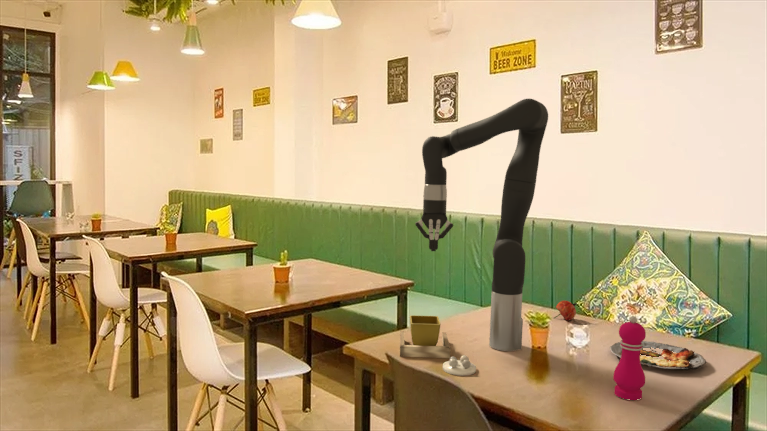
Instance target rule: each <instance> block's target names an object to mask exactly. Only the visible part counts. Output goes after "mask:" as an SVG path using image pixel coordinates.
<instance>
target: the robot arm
mask: <svg viewBox="0 0 767 431" xmlns="http://www.w3.org/2000/svg"><path fill="white" fill-rule="evenodd" d="M548 122H549V112H548V109H547V107H546V106H545V105H544V104H543V103H542V102H539V101H538V100H536V99H534V98H524V99H521V100H520V101H518V102H516V103H514V104H512V105H510V106H509V107H506V108H505V109H503V110H501V111H499V112H496V113H495V114H493V115H491V116H489V117H486V118H484V119H481V120H478V121H475V122H472V123H470V124H467V125H464V126H461V127H459V128H456V129H454V130H452V131H451V133H449V134H446V135H443V136H433V135H432V136H428V137H427V138H426V139H425V140H424V141H423V144H422V149H421V154H422V155H421V156H422V161H423V166H424V171H425V174H424V189H423V203H422V204H423V206H422V215H421V216H420V217H421V219H419V220H418V221H415V227H416V228H417V229H418V231H420V233H421V234H422V236H423V237H424V238H425V239H428V249H429V250H430V252H436V250H438V248H439V240H440V239H444V238H445V236H446V235H447V234H448V233H449V232H450V231H451V230H452V228H454V224H453V223H452V222H450V221H449V220H448V216H447V198H448V188H447V178H448V177H447V176H448V175H447V168H445V166H443V159H446V158H448V157H450V156H453V155H455V154H457V153H458V152H462V151H465V150H468V149H470V148H474V147H477V146H481V144H484V143H485V142H488V141H489V140H491V139H493V138H494V137H496V136H499V135H502V134H505V133H508V132H509V133H510V132H513V131H518V137H517V141H516V142H517V144H516V148H515V150H514V153H513V155H512V157H511V159H510V162H509V164H508V166H507V169H506V172H505V176H504V183H503V189H502V198H501V209H500V221H499V226H498V229H497V230H498V231H497V235H496V238H495V241H494V245H493V249H492V258H493V266H492V267H493V268H492V269H493V270H492V272H493V273H492V282H491V294H490V295H491V297H490V298H491V300H490V301H491V302H490V320H489V321H490V323H489V338H488V339H489V347H490V348H492V349H494V350H497V351H503V352H504V351H505V352H513V351H519V350H521V351H522V349H523V348H522V345H523V343H522V342H523V324H524V320H523V317H522V312H523V311H522V310H523V289H524V285H525V284H524V283H525V272H526V252H525V249H524V247H523V241H524V240H523V237H524V228H525V225H526V224H525V223H526V220H527V217H528V216H529V215H528V214H529V212H530V208H531V206H532V202H533V199H534V195H535V189H536V184H537V176H538V168H539V162H540V153H541V148H542V143H543V139H544V137H545V136H544V135H545V132H546V130H547V126H548ZM424 225H425V227H426V228H427V229H428V233H427V232H426V230H425V229H424V228H423V226H424ZM444 225H445V228H444V229H443V231H442V232H441V233H440V230H441V229H442V228H443V226H444Z"/></svg>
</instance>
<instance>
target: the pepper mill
mask: <svg viewBox="0 0 767 431" xmlns="http://www.w3.org/2000/svg"><path fill="white" fill-rule="evenodd" d="M618 329H619V330H618V334H619V337H620V338H621V340H620V341H619V342H621V344H620V346H621V347H622V355H621V358H619V362H618V363H617V365H616V366H615V369H614V371H613V376H612V378H613V381H614V382H615V384H616V385H614V392H613V393H614V395H615V396H616V397H617V396H618V397H617V398H619V397H621V398H620V399H622V398H624V399H623V400H625V399H630V400H637V399H640V398H641V399H642V398H643V390H642V388H643V387H645V384H646V375H645V371H644V369H643V367H642V364H641V363H640V350H642V349H643V348H642V346H643V344H642V343H641V342H642V341H645V339H646V335H647V334H646V333H647V332H646V329H645V327H644V326H643V325H642V324H640V323H638V318H637V317H636V316H635V315H631V316H629V318H628V321H626V322H623V323H622V324H621V325H620V326H619V328H618ZM641 399H640V400H641ZM630 400H629V401H630ZM637 401H638V400H637Z"/></svg>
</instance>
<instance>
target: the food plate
mask: <svg viewBox="0 0 767 431" xmlns="http://www.w3.org/2000/svg"><path fill="white" fill-rule="evenodd" d="M641 343H642V344H643V346H642V348H650V349H651V347H652V348H654V349H656V348H659V349H663V350H662V353H661V354H660V353H659V354H658V353H656V352H655V351H653V352H652V351H646V350H643V349H642V350H640V354H641V355H646V356H651V357H646V356H641V355H640V363H641V365H643V366H644V365H645V366H648V367H649V368H651V367H655V368H659V369H665V370H669V371H670V370H675V371H677V370H679V371H680V370H681V371H682V370H694V369H695V370H696V369H699V368H700V367H702V366H704V365H706V363H707V360H706V359H705V358H704V356H703V355H701V354H699V353H697V352H695V351H693V350H692V349H691V350H690V349H688V348H686V347H681V346H676V345H670V344H668V343H660V342H657V341H647V340H646V341H645V340H643V341H642V342H641ZM620 344H621V342H620V341H619V342H618V341H617V342H615V343H614V344H612V345H611V346H609V350H610V351H611V353H612V354H614V355H615V356H617V357H619V359H621V355H622V347H621V346H620ZM672 351H673V352H676V353H673V352H672ZM659 356H662V357H663V358H664V359H658V358H653V357H659ZM669 360H670V361H669ZM689 362H690V363H689Z"/></svg>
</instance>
